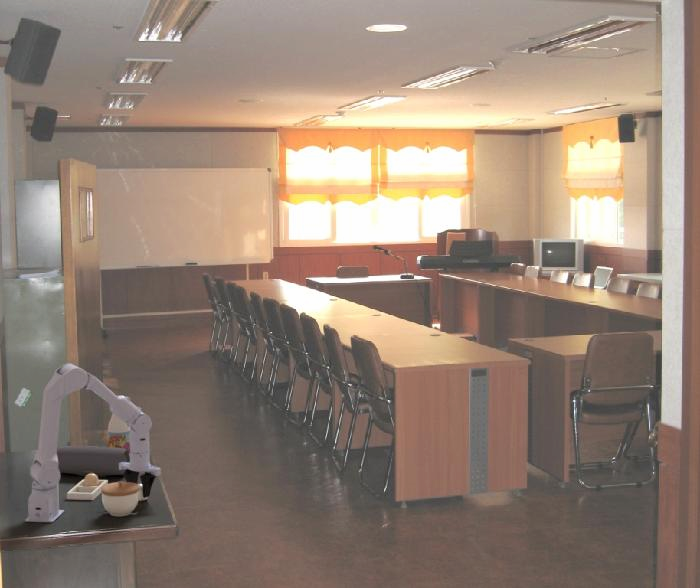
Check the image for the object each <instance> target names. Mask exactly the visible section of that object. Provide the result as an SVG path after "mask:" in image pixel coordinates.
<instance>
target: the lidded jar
mask: <svg viewBox="0 0 700 588" xmlns="http://www.w3.org/2000/svg"><path fill="white" fill-rule="evenodd" d="M138 484H139V483H138ZM138 484H136V483H132V482H127V481H122V480H119V481H115V482H110V483H109V482H108V484H106V485H104V486H103V487H102V488H101V500H102V504H103V505H102V506H103V507H104V509H105V510H106V511H107V512H108V513H109V515H110V516H112V517H126V516H129V515H132V512H133V511H134V510H135V509H136V507H137V505H138V503H139V501H138V499H139V485H138Z"/></svg>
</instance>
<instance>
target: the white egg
mask: <svg viewBox="0 0 700 588" xmlns="http://www.w3.org/2000/svg"><path fill="white" fill-rule="evenodd" d="M138 485H139V499H138V502H139V501H140V502H141V501H145V500H146V501H147V500H148V497H146V498H144V497H143V487H142V483H138Z"/></svg>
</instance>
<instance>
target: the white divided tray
mask: <svg viewBox="0 0 700 588" xmlns="http://www.w3.org/2000/svg"><path fill="white" fill-rule="evenodd" d="M84 479H85V478H84ZM84 479H82V480H81V481H79V482H78V483H77V484H75V486H73V487H72V488H71V489H70V490H69V491H68V492H67V493H66V500H79V501H80V500H81V501H94V500H95V499H96V498H97V497H98V496H100V494H102V492H101V488H102V487H103V486H104V485H106V484H109V480H108V479H98V486H84Z"/></svg>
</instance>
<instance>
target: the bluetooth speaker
mask: <svg viewBox="0 0 700 588" xmlns="http://www.w3.org/2000/svg"><path fill="white" fill-rule="evenodd" d="M57 458H58V469H59V471H60V474H72V475H75V476H79V477H80V476H83V477H86V475H88V474H90V473H93V474H96V475H97V477H108V476H123V473H124V472H125V471H126V470H124V469H123V470H119V463H121V462H130V455H129V451H128V449H123V448H114V447H108V446H96V445H64V446H62V445H61V446H57Z"/></svg>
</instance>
